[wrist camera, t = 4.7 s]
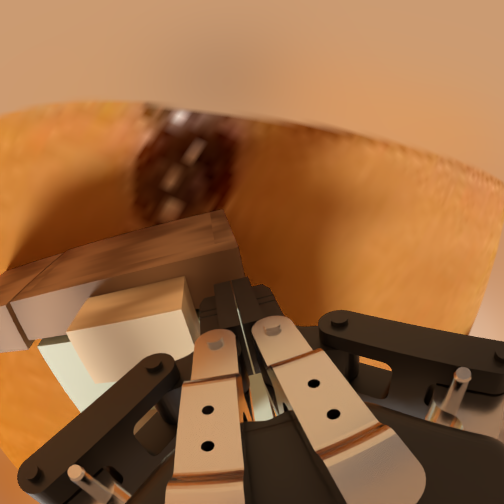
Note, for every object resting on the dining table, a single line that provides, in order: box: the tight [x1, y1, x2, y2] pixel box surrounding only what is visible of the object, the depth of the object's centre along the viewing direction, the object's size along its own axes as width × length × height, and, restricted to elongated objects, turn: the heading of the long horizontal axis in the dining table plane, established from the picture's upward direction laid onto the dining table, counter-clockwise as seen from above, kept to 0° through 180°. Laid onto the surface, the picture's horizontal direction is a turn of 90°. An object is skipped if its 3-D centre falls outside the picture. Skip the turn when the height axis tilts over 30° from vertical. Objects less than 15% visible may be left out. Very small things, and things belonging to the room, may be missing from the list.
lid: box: [37, 300, 273, 435], centre depth 14 cm, size 13×15×9 cm
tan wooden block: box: [66, 276, 200, 384], centre depth 12 cm, size 5×3×3 cm, turn 100°
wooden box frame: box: [0, 209, 275, 418], centre depth 20 cm, size 21×21×9 cm
